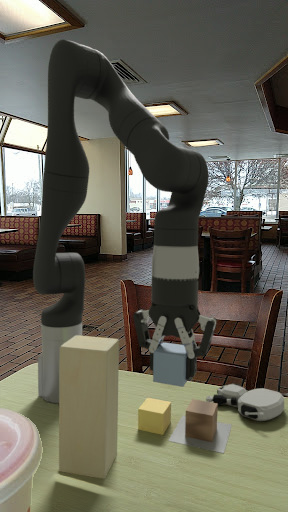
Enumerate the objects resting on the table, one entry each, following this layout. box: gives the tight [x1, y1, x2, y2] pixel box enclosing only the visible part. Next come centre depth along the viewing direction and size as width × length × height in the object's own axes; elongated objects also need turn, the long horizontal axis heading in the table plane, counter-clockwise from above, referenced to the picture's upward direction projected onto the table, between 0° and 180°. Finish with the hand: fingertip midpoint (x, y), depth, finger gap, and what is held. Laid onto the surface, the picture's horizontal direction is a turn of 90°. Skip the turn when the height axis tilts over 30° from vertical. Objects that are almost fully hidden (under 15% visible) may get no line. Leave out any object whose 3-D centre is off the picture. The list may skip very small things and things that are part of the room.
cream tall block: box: [58, 335, 120, 479], centre depth 62 cm, size 8×7×21 cm
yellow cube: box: [137, 397, 172, 436], centre depth 73 cm, size 5×5×5 cm
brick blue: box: [152, 341, 188, 388], centre depth 62 cm, size 5×5×5 cm
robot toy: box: [205, 383, 288, 422], centre depth 82 cm, size 12×4×15 cm
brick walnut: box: [185, 398, 219, 442], centre depth 71 cm, size 5×5×5 cm
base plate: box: [167, 414, 233, 454], centre depth 71 cm, size 10×10×1 cm
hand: (172, 375), depth 62 cm, fingers closed on brick blue, 5 cm apart
